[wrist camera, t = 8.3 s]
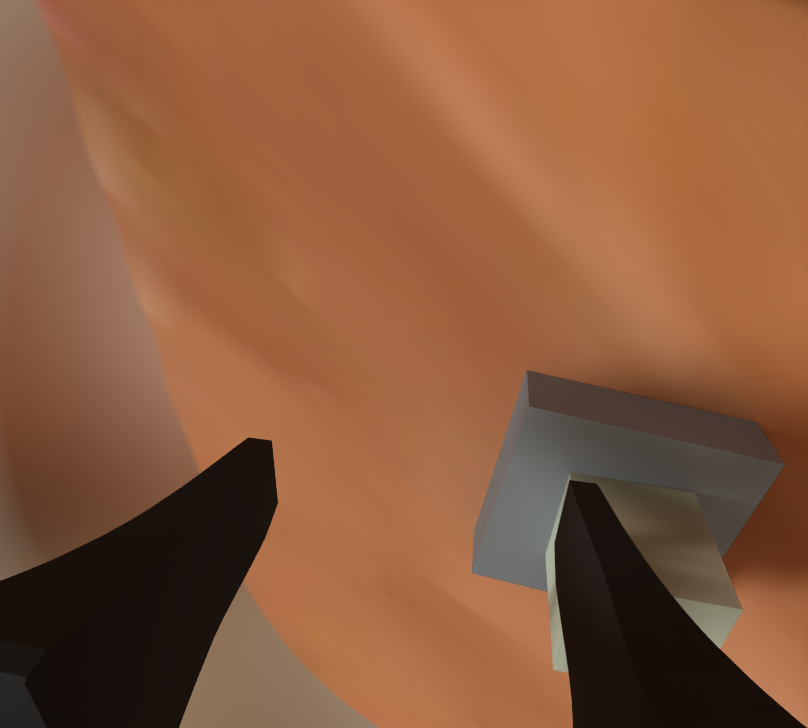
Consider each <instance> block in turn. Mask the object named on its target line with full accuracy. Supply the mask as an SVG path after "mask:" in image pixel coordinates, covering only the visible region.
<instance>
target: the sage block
mask: <svg viewBox="0 0 808 728" xmlns="http://www.w3.org/2000/svg"><path fill="white" fill-rule="evenodd" d="M569 480H574V481H582V482H590V483H597V485H598V486H599V487H600V489H601V490H602V492H603V494H604V496H605V497H606V499H607V501H608V502H609V504H610V506H611V507H612V509H613V511H614V512H615V514H616V516H617V517H618V519H619V521H620V522H621V524H622V525H623V527H624V529H625V530H626V532H627V533H628V535H629V536H630V538H631V539H632V541H633V542H634V544H635V545H636V547H637V548H638V550H639V551H640V552H641V554H642V555H643V557H644V558H645V560H646V561H647V563H648V564H649V565H650V567H651V568H652V570H653V571H654V572H655V574H656V575H657V576H658V578H659V579H660V580H661V582H662V583H663V584H664V585H665V587H666V588H667V589H668V591H669V592H670V593H671V594H672V596H673V597H674V598H675V599H676V601H677V602H678V603H679V604H680V606H681V607H682V608H683V609H684V610H685V612H686V613H687V614H688V615H689V616H690V617H691V618H692V620H693V621H694V622H695V623H696V624H697V625H698V626H699V627H700V629H701V630H702V631H703V632H704V633H705V634H706V635H707V636H708V637H709V638H710V639H711V640H712V641H713V642H714V643H715V645H716V646H717V647H718V648H719V649H720V648H721V646H722V644H723V643H724V641H725V639H726V638H727V636H728V634H729V633H730V631H731V629H732V628H733V626H734V624H735V622H736V621H737V619H738V617H739V616H740V614H741V612H742V611H743V609H742V606H741V604H740V601H739V599H738V597H737V594H736V592H735V589H734V587H733V584H732V582H731V580H730V577H729V575H728V572H727V570H726V568H725V565H724V563H723V560H722V558H721V555H720V553H719V551H718V548H717V546H716V543H715V541H714V539H713V536H712V534H711V531H710V529H709V526H708V524H707V522H706V519H705V517H704V514H703V512H702V510H701V507H700V505H699V502H698V500H697V497H696V495H695V493H694V492H690V491H684V490H678V489H672V488H666V487H660V486H654V485H648V484H642V483H636V482H629V481H623V480H617V479H611V478H605V477H599V476H593V475H587V474H581V473H575V472H569V476H568V479H567V483H566V486H565V489H564V493H563V496H562V500H561V503H560V506H559V510H558V513H557V517H556V520H555V523H554V527H553V530H552V534H551V537H550V540H549V544H548V547H547V551H546V554H545V558H546V572H547V586H548V601H549V615H550V629H551V644H552V658H553V670H557V671H562V672H567V673H569V672H568V666H567V659H566V653H565V646H564V639H563V633H562V626H561V619H560V612H559V606H558V599H557V592H556V584H555V550H554V542H555V538H556V534H557V530H558V525H559V521H560V517H561V513H562V509H563V504H564V500H565V496H566V492H567V488H568V484H569Z"/></svg>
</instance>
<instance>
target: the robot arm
mask: <svg viewBox="0 0 808 728" xmlns="http://www.w3.org/2000/svg"><path fill="white" fill-rule="evenodd" d="M277 504H278V499H277V488H276V478H275V468H274V458H273V448H272V441H271V440H263V439H256V438H247V439H246V440H244V441H243V442H242V443H240V444H239V445H238V446H236V447H235V448H234V449H232V450H231V451H230V452H228V453H227V454H226V455H224V456H223V457H222V458H220V459H219V460H218V461H216V462H215V463H214V464H213V465H211V466H210V467H209V468H207V469H206V470H205V471H203V472H202V473H200V474H199V475H198V476H196V477H195V478H194V479H192V480H191V481H190V482H188V483H187V484H185V485H184V486H183V487H181V488H180V489H178V490H177V491H175V492H174V493H172V494H171V495H169V496H168V497H166V498H165V499H163V500H162V501H160V502H159V503H157V504H156V505H154V506H153V507H151V508H150V509H149V510H147V511H145V512H143V513H142V514H140V515H139V516H137V517H135V518H133V519H132V520H130V521H128V522H127V523H125V524H123V525H122V526H119V527H118V528H116V529H114V530H112V531H110V532H109V533H107V534H105V535H103V536H101V537H99V538H97V539H95V540H93V541H91V542H89V543H87V544H85V545H83V546H81V547H79V548H76V549H74V550H72V551H70V552H68V553H67V554H64V555H62V556H60V557H58V558H55V559H53V560H51V561H49V562H46V563H44V564H41V565H39V566H37V567H34V568H32V569H30V570H27V571H24V572H22V573H19V574H17V575H15V576H12V577H9V578H7V579H4V580H1V581H0V728H179V726H180V723H181V720H182V718H183V715H184V712H185V710H186V707H187V705H188V702H189V699H190V697H191V694H192V691H193V689H194V686H195V684H196V681H197V678H198V676H199V673H200V671H201V668H202V666H203V664H204V661H205V658H206V656H207V653H208V651H209V648H210V646H211V644H212V641H213V639H214V636H215V634H216V632H217V630H218V628H219V626H220V624H221V622H222V620H223V618H224V616H225V614H226V612H227V610H228V608H229V606H230V604H231V602H232V601H233V599H234V597H235V595H236V593H237V591H238V589H239V587H240V585H241V584H242V582H243V580H244V578H245V576H246V574H247V572H248V570H249V568H250V567H251V565H252V563H253V561H254V559H255V557H256V555H257V553H258V551H259V549H260V547H261V545H262V543H263V541H264V539H265V537H266V534H267V531H268V529H269V526H270V524H271V521H272V518H273V515H274V512H275V510H276V507H277ZM554 550H555V584H556V592H557V599H558V606H559V612H560V619H561V626H562V633H563V639H564V646H565V653H566V659H567V666H568V672H569V679H570V688H571V698H572V714H573V728H806V727H805V726H804V725H803V724H801V723H800V722H799V721H798V720H797V719H795V718H794V717H793V716H792V715H791V714H790V713H788V712H787V711H786V710H785V709H784V708H783V707H782V706H780V705H779V704H778V703H777V702H776V701H775V700H773V699H772V698H771V697H770V696H769V695H768V694H767V693H765V692H764V691H763V690H762V689H761V688H760V687H759V686H758V685H757V684H756V683H755V682H753V681H752V680H751V679H750V678H749V677H748V676H747V675H746V674H745V673H744V672H743V671H742V670H741V669H740V668H739V667H738V666H737V665H736V664H735V663H734V662H733V661H732V660H731V659H730V658H729V657H728V656H727V655H726V654H725V653H723V652H722V651H721V650H720V649H719V648H718V647H717V646H716V645H715V643H714V642H713V641H712V640H711V639H710V638H709V637H708V636H707V635H706V634H705V633H704V632H703V631H702V630H701V629H700V627H699V626H698V625H697V624H696V623H695V622H694V621H693V620H692V618H691V617H690V616H689V615H688V614H687V613H686V612H685V610H684V609H683V608H682V607H681V606H680V604H679V603H678V602H677V601H676V599H675V598H674V597H673V596H672V594H671V593H670V592H669V591H668V589H667V588H666V587H665V585H664V584H663V583H662V582H661V580H660V579H659V578H658V576H657V575H656V574H655V572H654V571H653V570H652V568H651V567H650V565H649V564H648V563H647V561H646V560H645V558H644V557H643V555H642V554H641V552H640V551H639V550H638V548H637V547H636V545H635V544H634V542H633V541H632V539H631V538H630V536H629V535H628V533H627V532H626V530H625V529H624V527H623V525H622V524H621V522H620V521H619V519H618V517H617V516H616V514H615V512H614V511H613V509H612V507H611V506H610V504H609V502H608V501H607V499H606V497H605V496H604V494H603V492H602V490H601V489H600V487H599V486H598V485H597V483H590V482H582V481H574V480H569V484H568V488H567V492H566V496H565V500H564V504H563V509H562V513H561V517H560V521H559V525H558V530H557V534H556V538H555V542H554Z"/></svg>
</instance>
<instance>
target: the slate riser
mask: <svg viewBox="0 0 808 728" xmlns="http://www.w3.org/2000/svg"><path fill="white" fill-rule="evenodd" d="M784 466H785V464H784V462H783V461H782V459H781V458H780V456H779V455H778V453H777V452H776V450H775V449H774V447H773V446H772V444H771V443H770V441H769V440H768V438H767V437H766V435H765V434H764V432H763V431H762V429H761V428H760V426H759V425H758V423H757V422H753V421H749V420H744V419H740V418H735V417H731V416H727V415H722V414H718V413H713V412H709V411H704V410H700V409H696V408H691V407H687V406H682V405H678V404H673V403H669V402H664V401H660V400H656V399H651V398H647V397H642V396H638V395H633V394H629V393H625V392H620V391H616V390H611V389H607V388H602V387H598V386H594V385H589V384H585V383H580V382H576V381H571V380H567V379H562V378H558V377H554V376H549V375H545V374H540V373H536V372H531V371H526V374H525V377H524V381H523V384H522V387H521V390H520V393H519V396H518V399H517V402H516V405H515V408H514V411H513V414H512V417H511V420H510V423H509V426H508V429H507V432H506V436H505V439H504V442H503V445H502V448H501V451H500V454H499V457H498V460H497V463H496V466H495V469H494V472H493V475H492V478H491V481H490V484H489V487H488V491H487V494H486V497H485V500H484V503H483V506H482V509H481V512H480V515H479V518H478V521H477V524H476V527H475V532H474V548H473V563H472V573H473V574H477V575H481V576H485V577H490V578H494V579H498V580H502V581H506V582H510V583H514V584H518V585H522V586H526V587H531V588H535V589H539V590H543V591H547V592H548V586H547V572H546V558H545V554H546V551H547V547H548V544H549V540H550V537H551V534H552V530H553V527H554V523H555V520H556V517H557V513H558V510H559V506H560V503H561V500H562V496H563V493H564V489H565V486H566V483H567V479H568V476H569V472H575V473H581V474H587V475H593V476H599V477H605V478H611V479H617V480H623V481H629V482H636V483H642V484H648V485H654V486H660V487H666V488H672V489H678V490H684V491H690V492H694V493H695V495H696V497H697V500H698V502H699V505H700V507H701V510H702V512H703V514H704V517H705V519H706V522H707V524H708V526H709V529H710V531H711V534H712V536H713V539H714V541H715V543H716V546H717V548H718V551H719V553H720V555H721V558H723V556H724V555H725V553H726V552H727V550H728V549H729V547H730V546H731V544H732V543H733V542H734V540H735V539H736V537H737V536H738V534H739V533H740V531H741V530H742V528H743V527H744V525H745V524H746V522H747V521H748V519H749V518H750V516H751V515H752V513H753V512H754V510H755V509H756V507H757V506H758V504H759V503H760V501H761V500H762V498H763V497H764V495H765V494H766V493H767V491H768V490H769V488H770V487H771V485H772V484H773V482H774V481H775V479H776V478H777V476H778V475H779V473H780V472H781V470H782V469H783V467H784Z"/></svg>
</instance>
